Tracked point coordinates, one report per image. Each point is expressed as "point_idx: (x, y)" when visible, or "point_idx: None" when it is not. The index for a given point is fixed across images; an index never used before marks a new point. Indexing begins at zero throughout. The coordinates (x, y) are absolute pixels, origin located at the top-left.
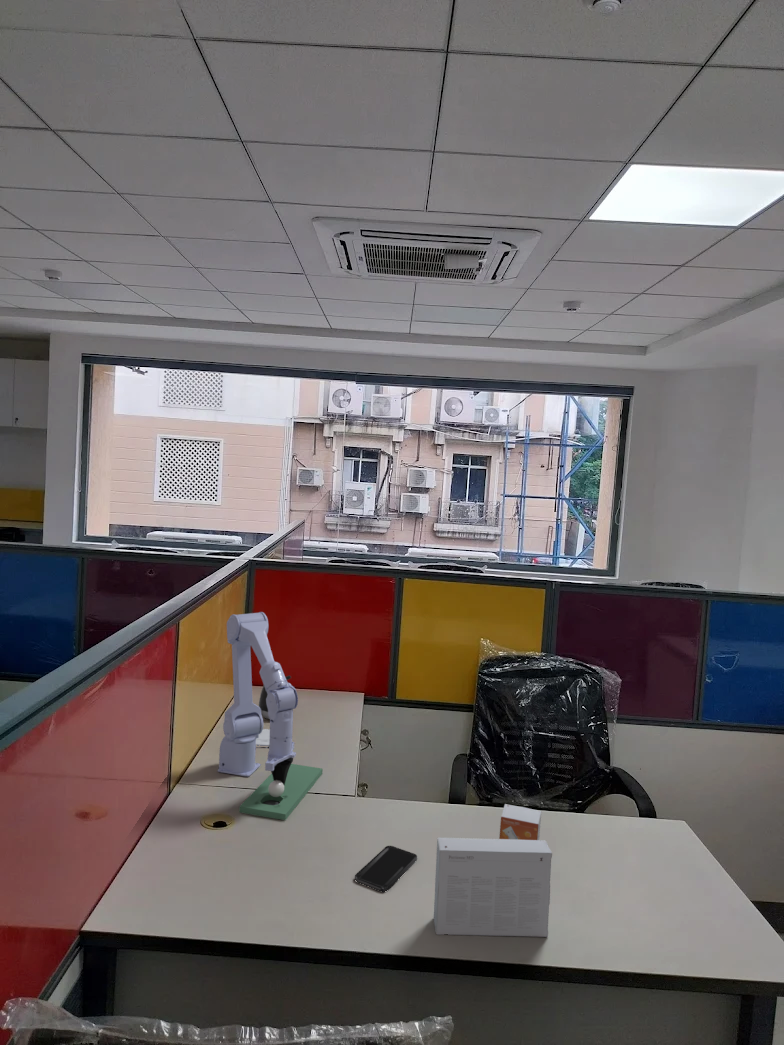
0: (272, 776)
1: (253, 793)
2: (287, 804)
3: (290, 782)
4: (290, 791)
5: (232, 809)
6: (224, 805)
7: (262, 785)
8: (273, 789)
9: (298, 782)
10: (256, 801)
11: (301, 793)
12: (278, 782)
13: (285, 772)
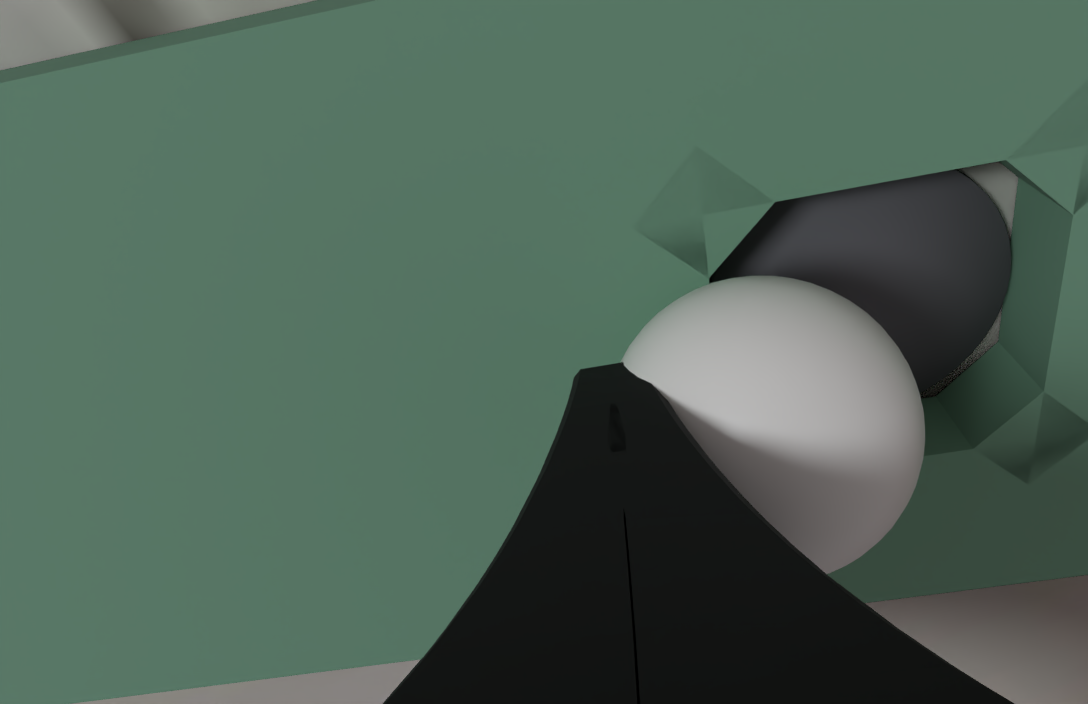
0: (250, 648)
1: None
2: (970, 2)
3: (206, 403)
4: (467, 242)
5: (1071, 583)
6: (1000, 669)
7: None
8: (922, 434)
9: (107, 304)
10: (996, 475)
11: (414, 13)
12: (821, 481)
13: (765, 578)
